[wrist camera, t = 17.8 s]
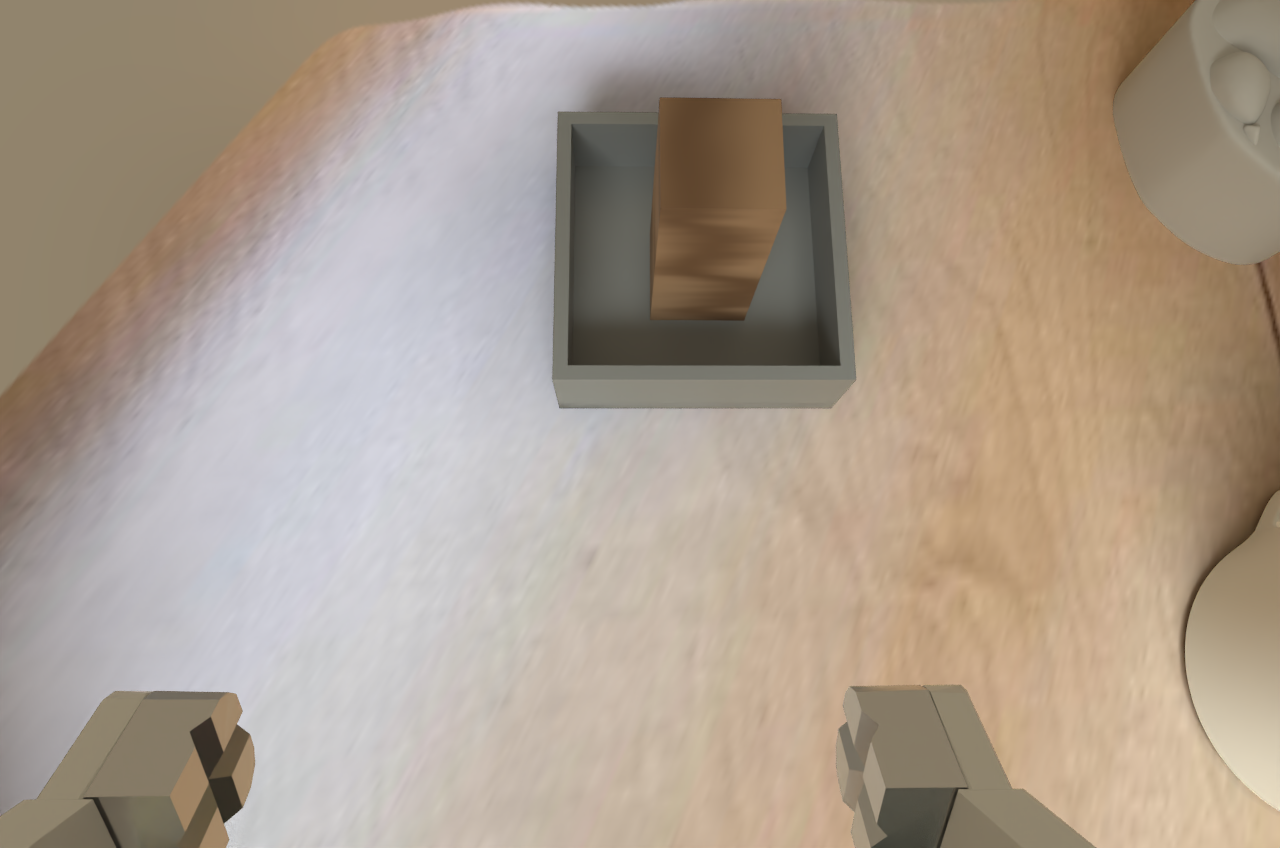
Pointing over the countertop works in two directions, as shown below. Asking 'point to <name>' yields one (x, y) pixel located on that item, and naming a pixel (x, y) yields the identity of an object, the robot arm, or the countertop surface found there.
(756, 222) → the wooden block
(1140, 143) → the lumpy-topped squat cylinder
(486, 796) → the countertop surface
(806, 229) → the box
